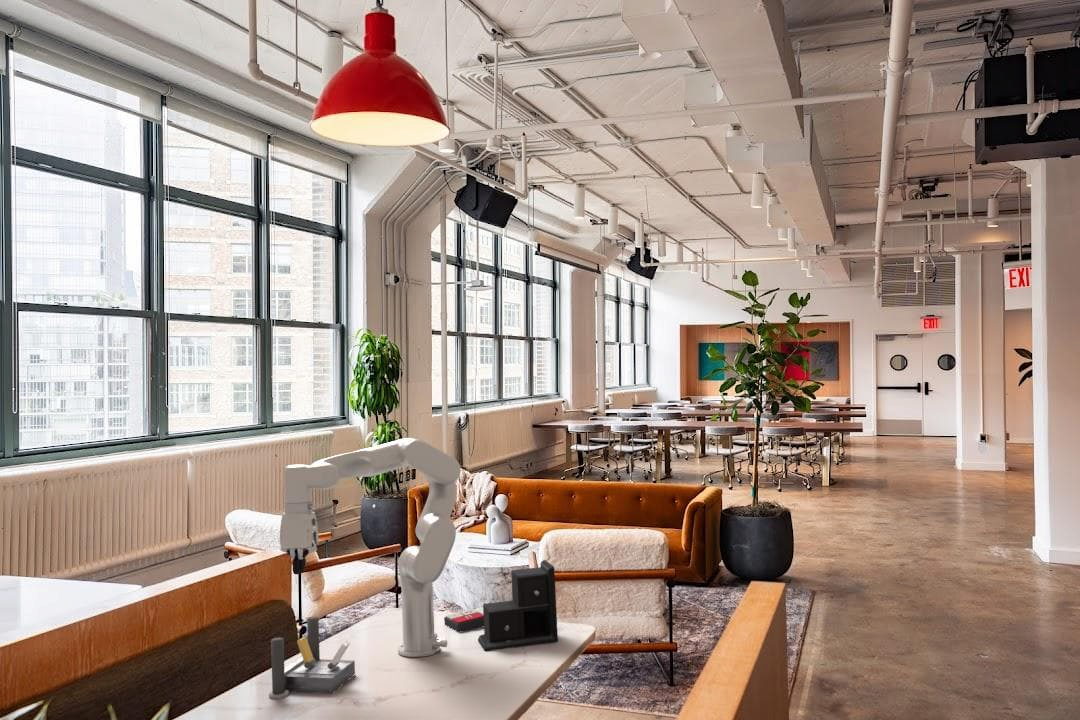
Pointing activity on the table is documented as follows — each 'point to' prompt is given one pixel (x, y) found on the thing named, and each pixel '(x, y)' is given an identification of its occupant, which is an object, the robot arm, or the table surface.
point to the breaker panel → (317, 676)
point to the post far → (313, 635)
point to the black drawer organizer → (523, 611)
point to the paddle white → (338, 655)
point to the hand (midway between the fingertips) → (298, 572)
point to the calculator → (465, 620)
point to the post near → (278, 669)
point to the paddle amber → (306, 652)
